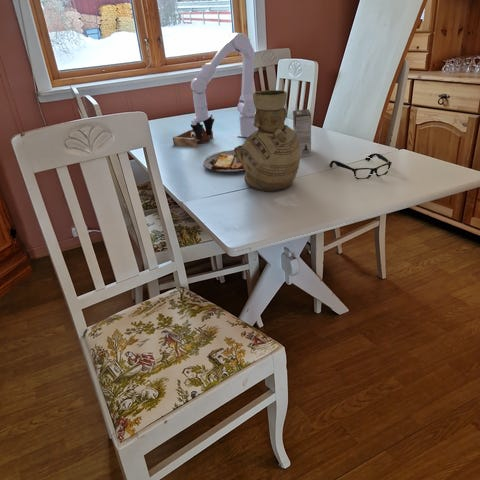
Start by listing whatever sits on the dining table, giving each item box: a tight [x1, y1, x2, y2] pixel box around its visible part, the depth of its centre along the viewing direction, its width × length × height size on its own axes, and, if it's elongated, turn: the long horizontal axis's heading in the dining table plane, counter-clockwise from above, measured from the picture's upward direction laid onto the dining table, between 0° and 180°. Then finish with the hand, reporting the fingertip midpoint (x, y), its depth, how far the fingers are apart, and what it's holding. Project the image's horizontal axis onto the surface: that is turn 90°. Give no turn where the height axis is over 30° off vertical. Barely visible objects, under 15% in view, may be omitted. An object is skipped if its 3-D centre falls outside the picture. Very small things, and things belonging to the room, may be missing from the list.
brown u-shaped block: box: [172, 129, 214, 148], centre depth 197 cm, size 13×15×4 cm
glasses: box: [329, 152, 393, 180], centre depth 145 cm, size 17×18×5 cm
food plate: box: [202, 149, 245, 173], centre depth 162 cm, size 25×23×4 cm
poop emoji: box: [189, 122, 211, 144], centre depth 194 cm, size 10×8×9 cm
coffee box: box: [292, 109, 312, 157], centre depth 164 cm, size 9×6×16 cm
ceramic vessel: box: [233, 89, 301, 193], centre depth 133 cm, size 19×21×30 cm
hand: (204, 137), depth 194 cm, fingers open, 7 cm apart
